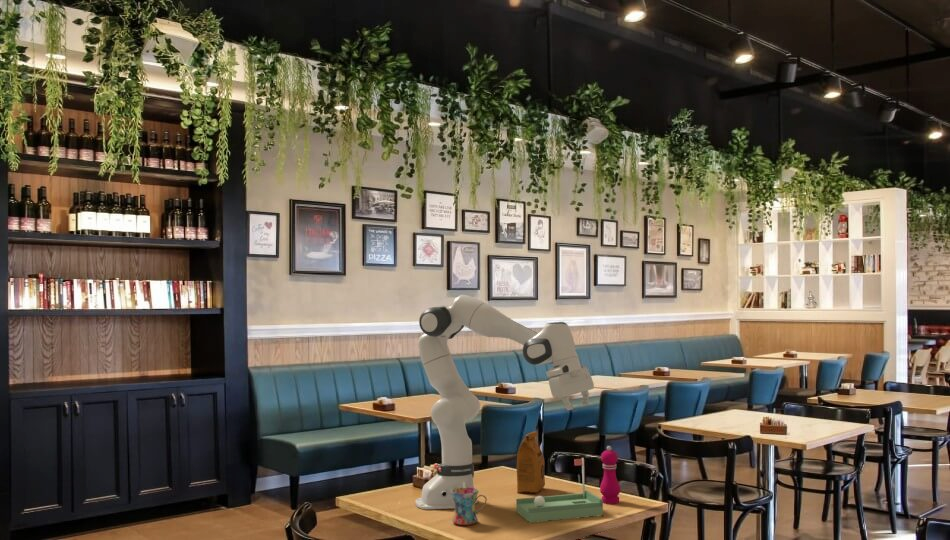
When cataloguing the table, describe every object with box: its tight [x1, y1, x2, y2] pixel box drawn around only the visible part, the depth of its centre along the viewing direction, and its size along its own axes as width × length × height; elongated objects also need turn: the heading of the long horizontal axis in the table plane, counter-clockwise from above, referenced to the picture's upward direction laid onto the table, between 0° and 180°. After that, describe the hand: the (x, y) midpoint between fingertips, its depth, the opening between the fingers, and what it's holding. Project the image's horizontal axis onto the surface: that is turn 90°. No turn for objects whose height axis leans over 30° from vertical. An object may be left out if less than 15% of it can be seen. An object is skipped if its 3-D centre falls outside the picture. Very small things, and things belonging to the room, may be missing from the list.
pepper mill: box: [599, 445, 621, 505], centre depth 293 cm, size 7×7×20 cm
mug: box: [450, 487, 487, 526], centre depth 269 cm, size 12×9×11 cm
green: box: [516, 457, 604, 523], centre depth 278 cm, size 26×14×17 cm, turn 105°
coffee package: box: [516, 431, 546, 494], centre depth 313 cm, size 10×12×22 cm
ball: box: [534, 495, 545, 507], centre depth 276 cm, size 4×4×4 cm
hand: (578, 407), depth 276 cm, fingers open, 8 cm apart
